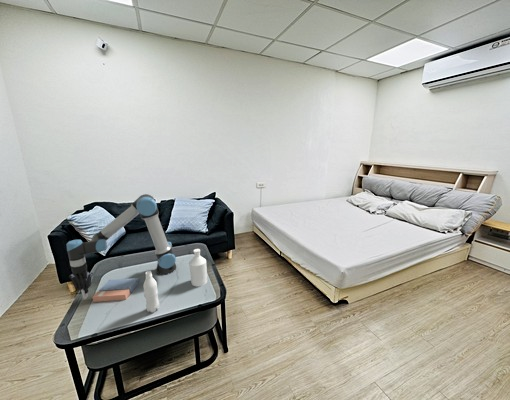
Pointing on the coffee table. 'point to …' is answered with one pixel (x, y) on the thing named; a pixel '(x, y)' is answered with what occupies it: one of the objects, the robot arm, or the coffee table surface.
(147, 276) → the water bottle
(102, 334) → the coffee table surface
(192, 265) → the bottle
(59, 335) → the coffee table surface
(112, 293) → the orange rectangular block
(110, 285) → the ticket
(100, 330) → the coffee table surface
